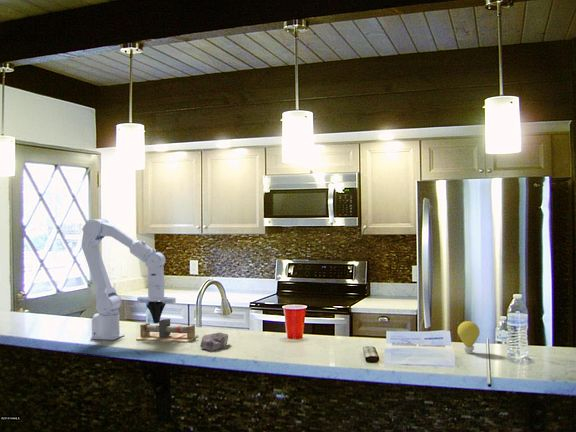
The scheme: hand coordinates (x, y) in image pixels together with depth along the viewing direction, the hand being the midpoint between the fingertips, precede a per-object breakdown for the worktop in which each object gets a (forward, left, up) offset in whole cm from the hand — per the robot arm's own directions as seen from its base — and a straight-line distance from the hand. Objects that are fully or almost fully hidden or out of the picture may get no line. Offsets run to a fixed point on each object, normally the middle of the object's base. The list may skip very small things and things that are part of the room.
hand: (156, 322), depth 212 cm
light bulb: (+109, 0, -6) cm, 109 cm away
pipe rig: (+4, 0, -6) cm, 7 cm away
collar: (+3, 0, -6) cm, 6 cm away
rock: (+26, -9, -6) cm, 28 cm away
